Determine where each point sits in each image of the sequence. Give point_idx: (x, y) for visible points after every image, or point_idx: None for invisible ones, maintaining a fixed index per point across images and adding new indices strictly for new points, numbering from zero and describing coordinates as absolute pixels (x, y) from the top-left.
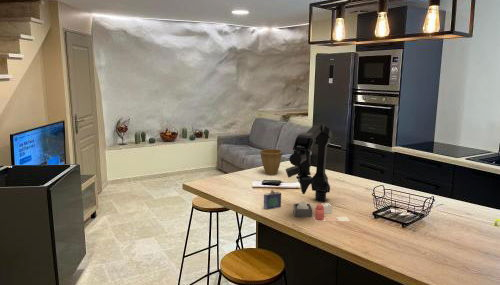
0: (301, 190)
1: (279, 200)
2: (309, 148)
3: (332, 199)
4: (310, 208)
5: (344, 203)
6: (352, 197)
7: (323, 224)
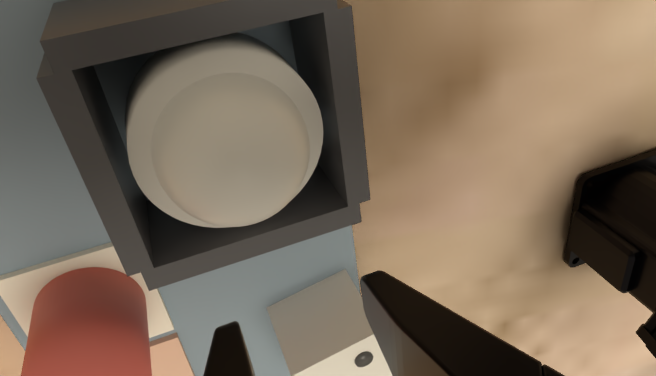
0: (377, 303)
1: None
2: None
3: None
4: (172, 265)
5: (550, 355)
6: (639, 369)
7: None
